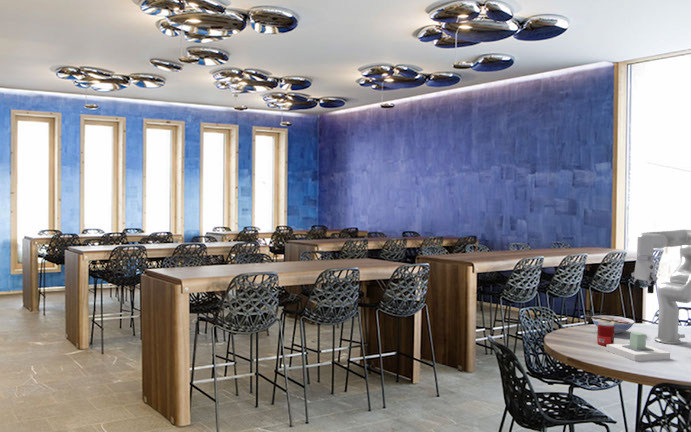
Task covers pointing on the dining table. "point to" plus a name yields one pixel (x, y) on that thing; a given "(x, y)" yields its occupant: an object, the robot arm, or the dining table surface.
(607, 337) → the canned food
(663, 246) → the robot arm
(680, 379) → the dining table surface
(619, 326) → the ramen bowl
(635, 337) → the green block
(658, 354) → the base board
